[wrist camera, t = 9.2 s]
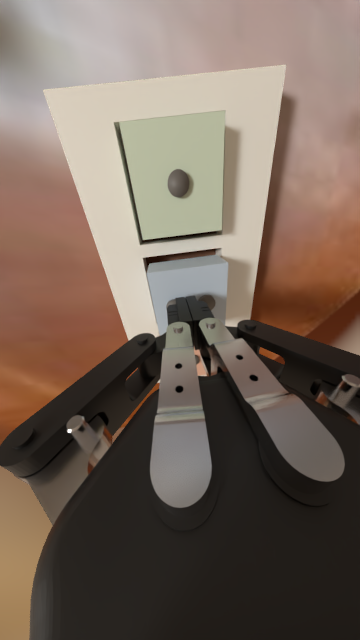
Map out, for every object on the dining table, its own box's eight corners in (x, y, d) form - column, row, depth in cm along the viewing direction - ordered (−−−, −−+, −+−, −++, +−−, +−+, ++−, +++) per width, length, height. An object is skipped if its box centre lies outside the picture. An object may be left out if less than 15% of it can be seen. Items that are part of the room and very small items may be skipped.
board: (267, 87, 11) (286, 64, 10) (237, 359, 25) (242, 370, 23) (61, 109, 11) (42, 89, 9) (145, 373, 25) (143, 384, 23)
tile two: (216, 254, 15) (229, 263, 12) (216, 313, 18) (226, 331, 15) (149, 263, 15) (146, 274, 12) (160, 320, 18) (160, 340, 15)
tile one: (211, 133, 12) (226, 107, 9) (211, 227, 15) (223, 230, 12) (128, 142, 12) (117, 119, 9) (146, 236, 15) (142, 240, 12)
